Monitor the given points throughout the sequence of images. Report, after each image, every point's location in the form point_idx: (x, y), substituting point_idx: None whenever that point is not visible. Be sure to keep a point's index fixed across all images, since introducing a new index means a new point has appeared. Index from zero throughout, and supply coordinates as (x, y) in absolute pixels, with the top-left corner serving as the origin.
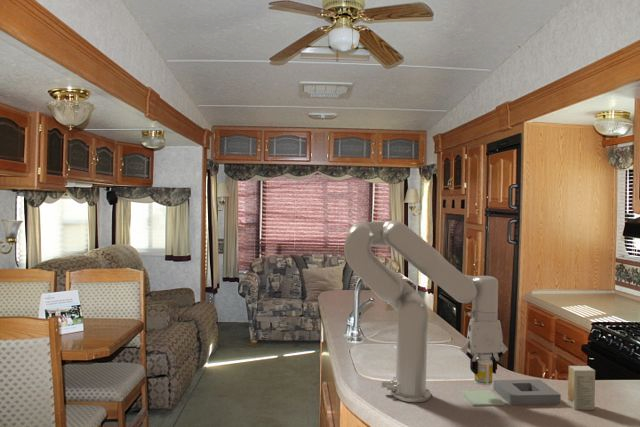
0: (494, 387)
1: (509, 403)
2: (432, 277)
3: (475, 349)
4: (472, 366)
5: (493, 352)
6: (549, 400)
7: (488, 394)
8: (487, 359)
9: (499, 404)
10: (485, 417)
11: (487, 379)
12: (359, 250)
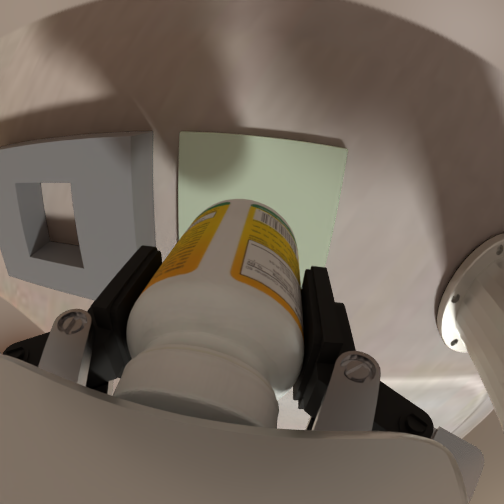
0: None
1: (152, 144)
2: None
3: (435, 486)
4: (347, 323)
5: (60, 384)
6: (18, 144)
7: None
8: (182, 343)
9: (206, 132)
10: (349, 32)
11: (236, 210)
12: None
